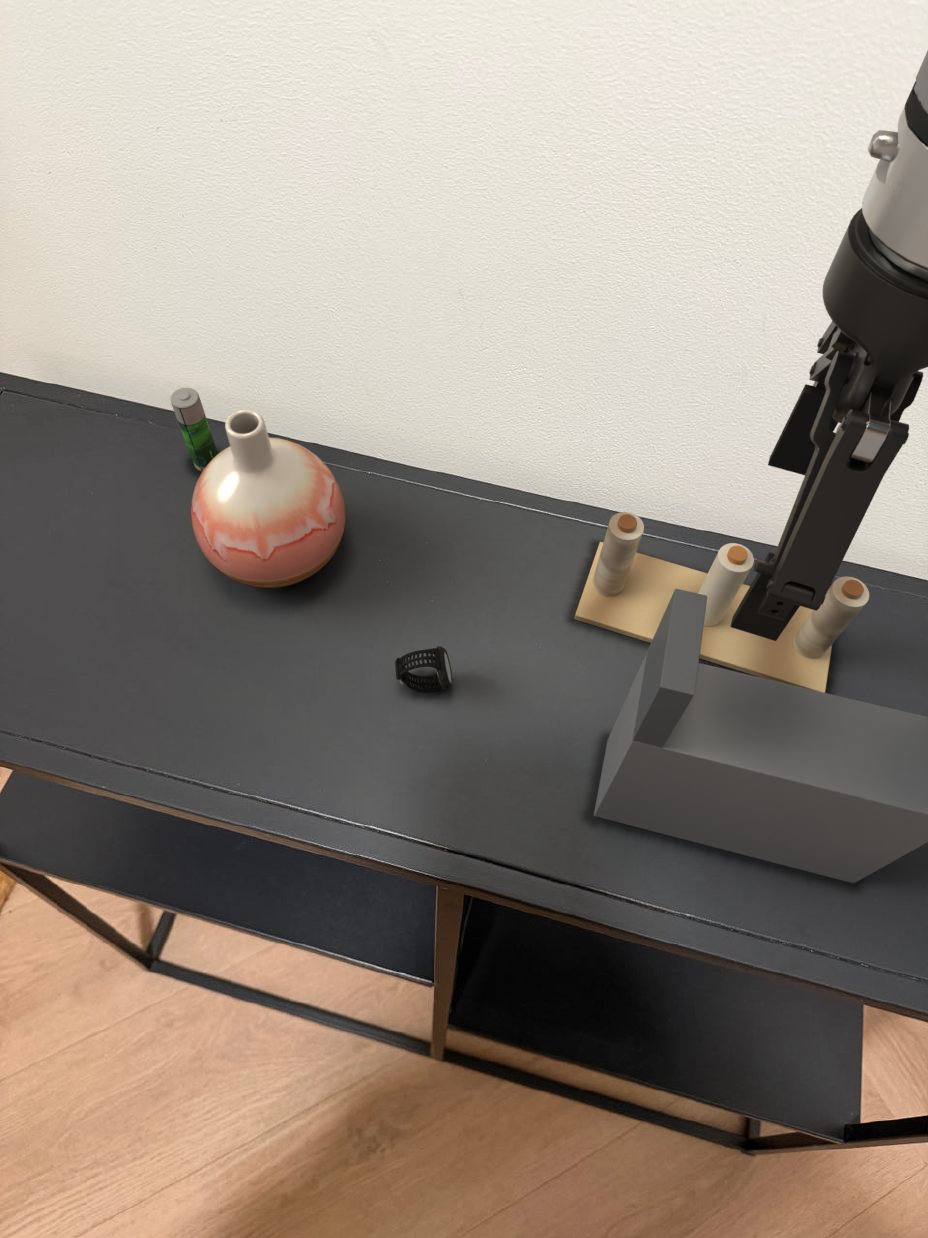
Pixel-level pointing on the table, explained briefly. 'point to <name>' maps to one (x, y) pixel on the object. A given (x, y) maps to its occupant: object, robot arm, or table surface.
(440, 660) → the smartwatch
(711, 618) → the white cell
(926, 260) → the robot arm
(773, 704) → the grey stand
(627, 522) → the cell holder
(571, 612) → the table surface
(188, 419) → the battery
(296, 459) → the vase
